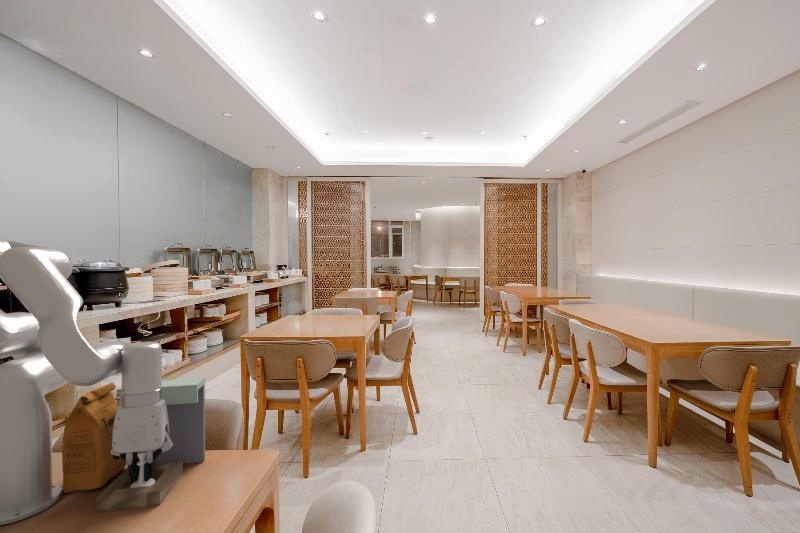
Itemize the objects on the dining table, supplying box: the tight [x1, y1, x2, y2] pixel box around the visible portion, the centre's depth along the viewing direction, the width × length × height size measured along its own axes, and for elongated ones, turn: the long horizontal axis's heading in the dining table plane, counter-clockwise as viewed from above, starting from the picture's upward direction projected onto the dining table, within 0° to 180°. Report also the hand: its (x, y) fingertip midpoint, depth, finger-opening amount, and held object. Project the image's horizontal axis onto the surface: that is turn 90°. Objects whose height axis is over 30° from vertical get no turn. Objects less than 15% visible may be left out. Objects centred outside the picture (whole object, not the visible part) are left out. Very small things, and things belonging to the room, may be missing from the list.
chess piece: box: [130, 452, 155, 488], centre depth 83 cm, size 5×5×10 cm
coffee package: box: [61, 381, 127, 494], centre depth 88 cm, size 10×12×22 cm
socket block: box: [95, 462, 184, 513], centre depth 83 cm, size 12×12×3 cm
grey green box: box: [116, 377, 206, 469], centre depth 93 cm, size 18×6×22 cm, turn 100°
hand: (142, 478), depth 83 cm, fingers closed on chess piece
